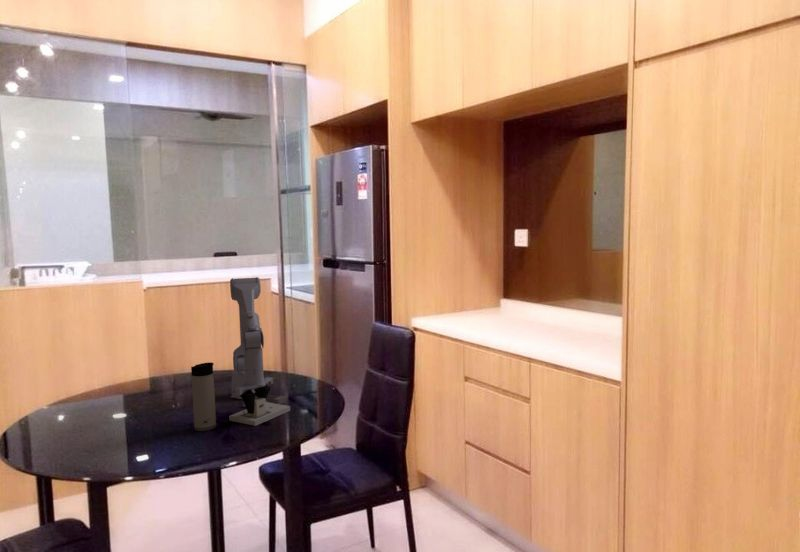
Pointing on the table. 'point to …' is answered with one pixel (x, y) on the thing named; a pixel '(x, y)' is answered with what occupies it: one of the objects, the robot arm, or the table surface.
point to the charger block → (259, 407)
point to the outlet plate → (271, 412)
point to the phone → (267, 399)
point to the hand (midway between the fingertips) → (255, 411)
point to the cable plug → (279, 400)
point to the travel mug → (203, 397)
